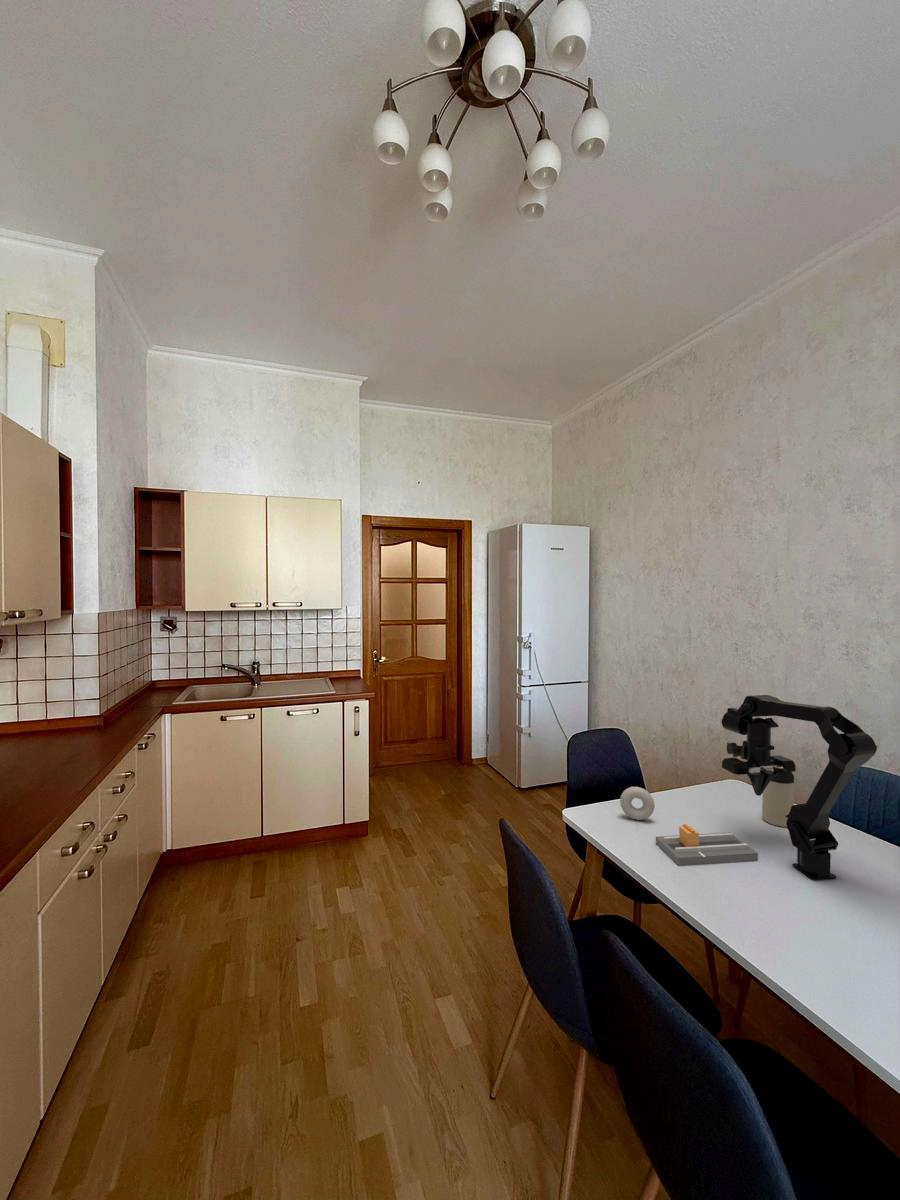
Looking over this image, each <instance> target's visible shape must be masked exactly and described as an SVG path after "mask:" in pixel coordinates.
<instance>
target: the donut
mask: <svg viewBox="0 0 900 1200" xmlns="http://www.w3.org/2000/svg"><path fill="white" fill-rule="evenodd" d="M634 799H638V800H640V801H641V802H642V806H641V807H639V808H638V807H635V806H633V803H632V801H633V800H634ZM654 800H655V799H654V798H653V796H652V794H650V792H649V791H648V790H646V789H645V788H642V787H639V786H630V787H628V788H626V789H624V790H623V792H622V793H621V795H620V800H619V803H620V807H621V810H622V812H623V813H624V814H625V815H626V816H628V817H629V818H631V819H632V820H635V819H636V821H644V820H646V819H647V820H648V818H650V817H652V815H653V813H654V811H655V807H656V805H655V801H654Z"/></svg>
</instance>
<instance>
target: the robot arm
mask: <svg viewBox="0 0 900 1200" xmlns="http://www.w3.org/2000/svg"><path fill="white" fill-rule="evenodd" d="M762 717H765V718H762ZM766 717H767V718H766ZM773 717H780V718H787V719H793V720H800V721H806V722H812V723H815V724H816V725H817V726H818V729H819V732H820V735H821V737H822V739H824V741H825V742H826V743H827V744H828V748H827V756H828V763H827V765H826V766H825V768H824V770H823V771H822V774H821V775H820V776H819V778H818V781H817V783H816V785H815V786H814V787H813V790H812V791H811V793H810V795H809V796H808V799H807V801H806V802H805V803H799V804H794V805H793V806H792V807H791V809H790V812H789V814H788V815H786V817H787V818H788V819H787V821H786V825H787V827H786V828H787V830H788V834H789V837H790V841H791V844H792V846H793V847H795V848H796V849H797V852H796V855H797V856H796V858H797V859H796V862H795V863H794V862H793V863H792V867H793V868H795V869H796V870H798V871H799V872H801V873H802V874H803V875H805V876H806V877H808V878H809V879H811V880H813V881H818V880H833V879H837V876H836V875H835V874H833V872H831V858H832V856H831V855H832V854H831V853H830V852H829V851H835V850H837V849H838V847H839V842H838V841H837V839H836V837H835V836H834V834H832V831H831V830H830V829H829V828H830V825H831V821H830V815H829V814H830V812H831V811H832V809H833V807H834V805H835V804H836V803H837V800H838V799H839V797H840V796H841V793H842V792H843V790H844V789H845V787H846V785H847V783H848V781H849V780H850V779H851V777H852V775H853V773H854V772H855V771H856V770H857V769H858V768H860V767H861V766H863V765H865V764H866V763H868V762H869V760H871V759H872V757H874V756H875V755H876V753H877V750H878V746H877V745H876V742H875V740H874V739H873V737H872V736H871V735H869V734H868V733H866V732H865V731H864V730H863V729H861V727H860V726H859V725H858V724H857V723H856V722H855V723H854V722H853V721H852V720H850V719H848V718H847V717H845V716H844V715H843V714H841V712H840V711H839V710H838V709H837V708H835V707H833V706H821V705H812V704H805V703H798V702H797V703H796V702H789V701H784V700H781V699H779V698H778V697H776V696H772V695H769V694H761V695H760V694H757V695H756V694H755V695H747V696H745V698H744V699H743V701H742V704H741V705H740V706H739V707H738V708H736V707H728V708H727V711H726V712H725V713H724V715H723V716H722V718H721V725H722V727H723V728H724V730H727V731H730V732H733V733H735V734H739V735H741V736H746V740H743V742H742V745H738V744H737V743H736V742H727V743H726V752H727V754H728V755H732V757H726V758H725V757H724V758H723V759H722V761H721V768H722V769H724V770H726V771H727V772H729V773H732V774H734V775H738V776H740V775H742V776H743V775H747V777H748V779H749V781H750V785H752V790H753V792H754V795H756V796H759V797H761V796H762V793H763V791H764V790H765V788H766V787H767V785H768V784H769V782H770V781H771V780H772V779H773V777H774V776H776V775H777V773H776V772H773V767H783V769H784V770H785V771H786V772H792V773H793V772H796V763H795V761H794V760H793V759H790V758H788V757H785V756H782V755H771V751H774V750H775V746H774V745H773V744H772V741H771V740H772V729H774V728H779V727H780V726H779V724H778V723H777V722H776V721H775V720H774V719H773ZM836 729H837V730H839V731H840V732H842V733H839V732H838V731H837V730H836ZM737 757H740V759H738V758H737ZM741 759H742V760H741ZM744 760H746V761H744Z"/></svg>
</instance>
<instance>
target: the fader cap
mask: <svg viewBox="0 0 900 1200" xmlns="http://www.w3.org/2000/svg"><path fill="white" fill-rule="evenodd" d="M678 828H679V830H678V832H679V833H678V834H679V841H680V842H681V843H682V844H683V845H684V846H686V847H694V846H699V834H700V833H699V832H698V831H697V830H695V828H693V827H692V826H690V825H688V824H687V823H683V825H682V826H681V825H680V826H679V827H678Z"/></svg>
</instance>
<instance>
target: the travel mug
mask: <svg viewBox="0 0 900 1200" xmlns="http://www.w3.org/2000/svg"><path fill="white" fill-rule="evenodd" d="M773 772H776V773H777V775H776V776H774V777H773V779H772V780H771V781H770V782H769V784H768V785H767V787H766V788H765V790H764V791H763V793H762V794H761V796H762V798H761V799H762V804H761V808H762V809H761V810H762V811H761V814H762V815H761V817H762V820H764V821H765V822H766V823H768V824H771V825H773V826H775V827H776V826H777V827H781V828H782V827H783V828H788V827H787V825H786V821H787V819H788V818H787V817H786V815H788V814H789V812H790V809H791V807H792V806H793V805H795V803H794V802H795V776H794V775H795V774H794V773H793V772H786V771H785V770H784V769H783V767H773Z"/></svg>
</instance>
